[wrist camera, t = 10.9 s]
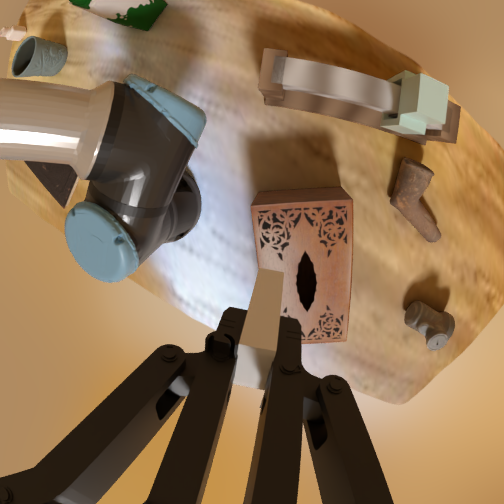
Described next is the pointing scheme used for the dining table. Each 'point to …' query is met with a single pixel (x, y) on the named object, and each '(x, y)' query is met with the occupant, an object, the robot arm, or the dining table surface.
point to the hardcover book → (56, 179)
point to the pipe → (414, 197)
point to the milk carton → (125, 11)
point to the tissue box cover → (309, 256)
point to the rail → (339, 105)
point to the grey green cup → (38, 58)
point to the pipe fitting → (430, 324)
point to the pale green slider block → (417, 103)
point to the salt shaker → (13, 32)
